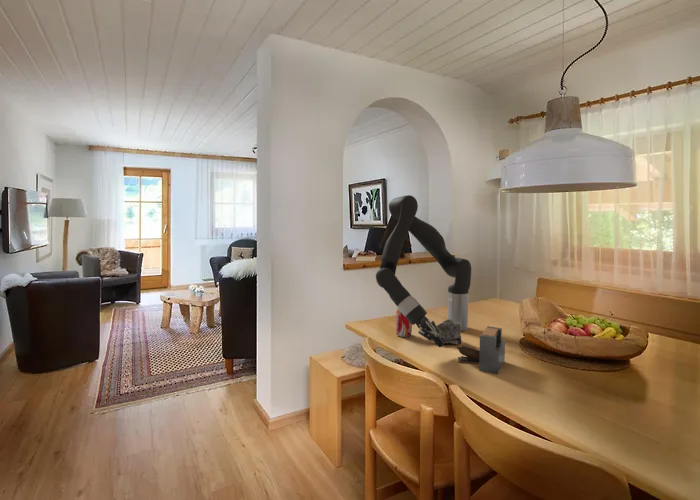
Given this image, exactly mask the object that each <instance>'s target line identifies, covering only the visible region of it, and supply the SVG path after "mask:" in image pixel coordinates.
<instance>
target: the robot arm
mask: <svg viewBox="0 0 700 500" xmlns="http://www.w3.org/2000/svg"><path fill="white" fill-rule="evenodd" d="M418 206H419V205H418V200H417V199H416V197H414V196H413V195H410V194H408V195H403V196H397V197H394V198H392V199H391V200H390V201H389V203H388V210H389V213H390V214H391V216H392V217H393V218H394V219H395V221H396V222H397V223H396V226H395V227H394V229H393V231H392V232H391V233H390V235H389V237H388V238H387V240H386V241H385V244H384V247H383V251H382V255H381V264H380V266H379V269H378V270H377V271H376V273H375V280H376V283H377V285H378V286H379V287H380V288H382V289H384V291H385V292H386V294H387V295H389V298H390V300H392V302H393V303H394V304H395V305H396V307H397V309H398V308H399V310H400V311H401V312H402V314H403V315H404V316H405V317H406V318H407V320H408V321H409V322H410V323H411V324H412V326H414V325H416V327H417V328H418V329H419V331H418V334H419V335H420V336H422V337H424V338H426V339H427V340H428V341H430V340H433V341H434V343H435V344H436V345H437V346H438V348H442V347H443V346H444V345H445V343H444V342H443V341H442V339H441V338H440V337H439V336H438V333H439V331H438V329H437V327H436V326H437V325H436V322H435V321H434V320H432V321H431V320H430V319H429V318H428V317H427V316H426V315H427V313H428V312H427V311H426V310H425V308H424V307H423V306H422V305H421V304H420V302H419V301H418V300H417V299H416V298H415V297H413V296H412V295H411V293H409V291H408V290H407V288H405V287H404V286H403V285H402V283H401V282H400V280H399V278H398V277H397V276H396V271H397V267H398V266H397V265H398V263H399V260H400V257H401V253H402V250H403V246H404V243H405V240H406V237H407V235H408V233H410V234H411V235H412V237H414V238H415V239H416V240H417V241H418V242H419V243H420V245H421V246H422V247H423V248H424V249H425V250H426V251H427V252H428V253H429V254H430V255H431V256H432V257H433V258H434V259H435V260H436V262H437V263H438V264H439V265H440V268H442V270H443V271H444V273H446V275H448V276H449V277H451V278H454V279H455V280H454V282H453V284H450V285H449V286H448V287H447V319H449V320H452V321H453V322H459V323H460V329H461V332H464V331H468V329H469V328H468V326H469V325H468V324H469V290H470V287H471V279H472V264H471V261H469V260H468V259H465V258H459V257H455V256H453V254H452V253H450V252H449V251H448V249H447V248H446V242H445V239H444V237H443V235H442V234H441V233H440V232H439V231H438V230H437V228H435V227H434V226H433V225H431V224H430V223H428V222H426V221H424V220H421V219H420V218H418V217H416V214H417V212H418V208H419V207H418ZM433 341H432V342H433Z"/></svg>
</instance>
